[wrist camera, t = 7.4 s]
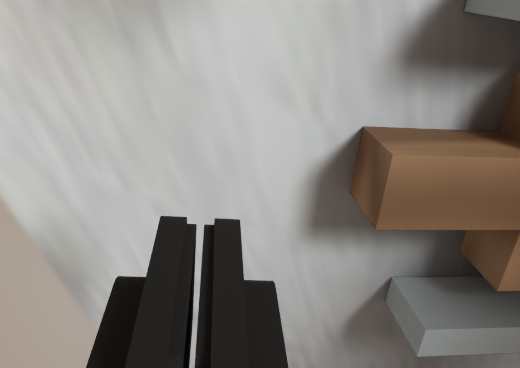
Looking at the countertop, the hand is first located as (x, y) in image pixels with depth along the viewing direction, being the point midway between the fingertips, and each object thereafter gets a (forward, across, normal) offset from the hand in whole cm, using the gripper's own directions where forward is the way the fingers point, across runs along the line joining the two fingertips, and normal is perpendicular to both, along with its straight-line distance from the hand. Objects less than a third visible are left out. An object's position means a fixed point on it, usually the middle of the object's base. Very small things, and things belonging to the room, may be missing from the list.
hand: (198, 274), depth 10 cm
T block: (+9, -11, +1) cm, 14 cm away
